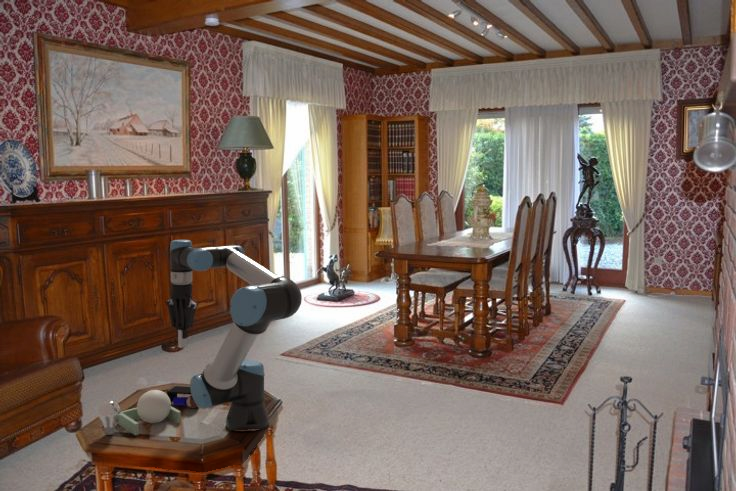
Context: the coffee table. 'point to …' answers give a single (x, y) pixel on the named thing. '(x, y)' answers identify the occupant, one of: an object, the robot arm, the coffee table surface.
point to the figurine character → (181, 400)
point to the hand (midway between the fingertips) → (182, 346)
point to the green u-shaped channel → (130, 415)
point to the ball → (153, 406)
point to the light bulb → (109, 415)
